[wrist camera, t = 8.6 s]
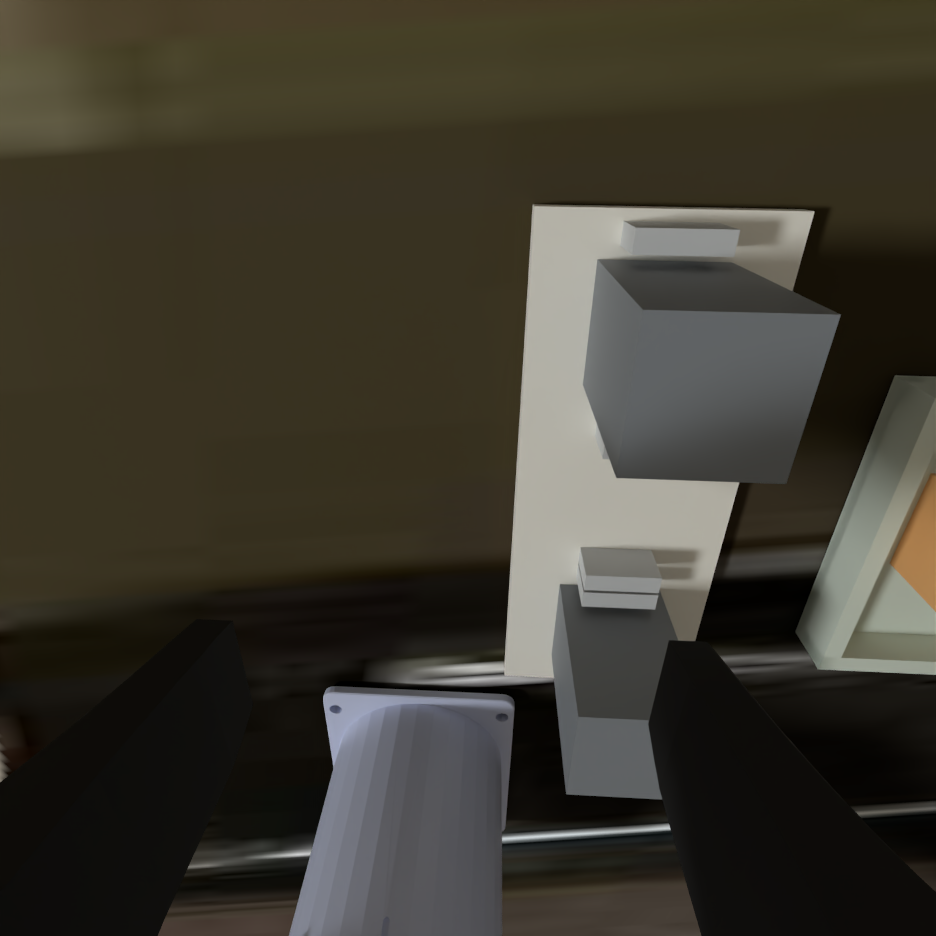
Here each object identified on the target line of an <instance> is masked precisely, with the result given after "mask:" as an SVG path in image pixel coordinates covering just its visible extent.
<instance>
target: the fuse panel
mask: <svg viewBox="0 0 936 936" xmlns="http://www.w3.org/2000/svg"><path fill="white" fill-rule="evenodd" d="M814 212H815V211H810V210H805V209H760V208H707V207H653V206H599V205H545V204H533V210H532V226H531V242H530V258H529V274H528V291H527V307H526V323H525V339H524V355H523V372H522V388H521V404H520V420H519V436H518V453H517V469H516V485H515V501H514V517H513V534H512V550H511V566H510V582H509V598H508V615H507V631H506V647H505V663H504V667H505V676H524V677H546V678H554V683H555V693H556V702H557V712H558V721H559V731H560V741H561V750H562V760H563V769H564V779H565V788H566V794H568V795H587V796H605V797H624V798H643V799H662V796H661V793H660V789H659V784H658V778H657V773H656V767H655V762H654V756H653V750H652V744H651V738H650V732H649V726H648V723H649V719H650V715H651V711H652V707H653V703H654V699H655V694H656V690H657V686H658V682H659V678H660V674H661V670H662V666H663V662H664V658H665V654H666V650H667V646H668V642H669V640H678V641H695V640H696V636H697V633H698V629H699V625H700V622H701V618H702V615H703V611H704V607H705V604H706V600H707V597H708V593H709V590H710V586H711V582H712V579H713V575H714V572H715V568H716V564H717V561H718V557H719V554H720V550H721V546H722V543H723V539H724V536H725V532H726V528H727V525H728V521H729V518H730V514H731V510H732V507H733V503H734V500H735V496H736V492H737V489H738V485H739V482H744V483H773V484H786V483H787V480H788V477H789V474H790V470H791V467H792V464H793V461H794V458H795V455H796V452H797V449H798V446H799V443H800V440H801V436H802V433H803V430H804V427H805V424H806V421H807V418H808V415H809V412H810V409H811V406H812V403H813V399H814V396H815V393H816V390H817V387H818V384H819V381H820V378H821V375H822V372H823V369H824V365H825V362H826V359H827V356H828V353H829V350H830V347H831V344H832V341H833V338H834V335H835V332H836V328H837V325H838V322H839V319H840V316H841V314H838V313H836V312H834V311H832V310H830V309H828V308H826V307H824V306H822V305H820V304H818V303H816V302H814V301H811V300H809V299H807V298H805V297H803V296H801V295H799V294H797V293H795V292H793V287H794V284H795V280H796V277H797V273H798V270H799V266H800V262H801V259H802V255H803V252H804V248H805V244H806V241H807V237H808V234H809V230H810V226H811V223H812V219H813V216H814Z"/></svg>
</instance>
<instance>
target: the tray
mask: <svg viewBox="0 0 936 936" xmlns="http://www.w3.org/2000/svg"><path fill="white" fill-rule="evenodd" d="M931 473H936V377H934V376H899V375H895V376H894V379H893V381H892V384H891V387H890V389H889V392H888V394H887V397H886V399H885V402H884V405H883V407H882V410H881V412H880V415H879V417H878V420H877V423H876V425H875V428H874V430H873V433H872V435H871V438H870V441H869V443H868V446H867V448H866V451H865V453H864V456H863V459H862V461H861V464H860V466H859V469H858V471H857V474H856V477H855V479H854V482H853V484H852V487H851V489H850V492H849V495H848V497H847V500H846V502H845V505H844V508H843V510H842V513H841V515H840V518H839V520H838V523H837V526H836V528H835V531H834V533H833V536H832V538H831V541H830V544H829V546H828V549H827V551H826V554H825V556H824V559H823V562H822V564H821V567H820V569H819V572H818V574H817V577H816V580H815V582H814V585H813V587H812V590H811V592H810V595H809V598H808V600H807V603H806V605H805V608H804V610H803V613H802V616H801V618H800V621H799V623H798V626H797V629H796V631H795V632H796V634H797V636H798V637H799V639H800V641H801V642H802V644H803V645H804V647H805V649H806V650H807V652H808V654H809V655H810V657H811V658H812V660H813V662H814V663H815V665H816V667H817V668H818V669H823V670H845V671H867V672H889V673H911V674H933V675H936V612H935V611H934V610H933V609H932V608H931V606H930V605H929V604H928V603H927V602H926V601H925V600H924V599H923V598H922V597H921V596H920V595H919V594H918V593H917V592H916V591H915V590H914V588H913V587H912V586H911V585H910V584H909V583H908V582H907V581H906V580H905V579H904V578H903V577H902V576H901V575H900V574H899V573H898V572H897V571H896V569H895V568H894V567H893V566H892V565H891V564H890V561H891V559H892V557H893V555H894V552H895V550H896V548H897V546H898V544H899V542H900V539H901V537H902V535H903V533H904V531H905V529H906V526H907V524H908V522H909V520H910V518H911V516H912V513H913V511H914V509H915V507H916V505H917V502H918V500H919V498H920V496H921V494H922V492H923V489H924V487H925V485H926V483H927V481H928V479H929V476H930V474H931Z"/></svg>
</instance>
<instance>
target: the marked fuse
mask: <svg viewBox="0 0 936 936" xmlns="http://www.w3.org/2000/svg"><path fill="white" fill-rule="evenodd" d="M890 564H891V565H892V566H893V567H894V568H895V569H896V571H897V572H898V573H899V574H900V575H901V576H902V577H903V578H904V579H905V580H906V581H907V582H908V583H909V584H910V585H911V586H912V587H913V588H914V590H915V591H916V592H917V593H918V594H919V595H920V596H921V597H922V598H923V599H924V600H925V601H926V602H927V603H928V604H929V605H930V606H931V608H932V609H933V610H934V611H935V612H936V473H931V474H930V476H929V479H928V481H927V483H926V485H925V487H924V489H923V492H922V494H921V496H920V498H919V500H918V502H917V505H916V507H915V509H914V511H913V513H912V516H911V518H910V520H909V522H908V524H907V526H906V529H905V531H904V533H903V535H902V537H901V539H900V542H899V544H898V546H897V548H896V550H895V552H894V555H893V557H892V559H891V561H890Z"/></svg>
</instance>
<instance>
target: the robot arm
mask: <svg viewBox="0 0 936 936" xmlns="http://www.w3.org/2000/svg"><path fill="white" fill-rule="evenodd" d="M323 703H324V709H325V716H326V722H327V728H328V735H329V741H330V747H331V754H332V760H333V766H334V769H333V773H332V776H331V780H330V784H329V788H328V791H327V795H326V799H325V803H324V806H323V810H322V814H321V818H320V821H319V825H318V829H317V833H316V836H315V840H314V844H313V848H312V851H311V855H310V859H309V863H308V866H307V870H306V874H305V878H304V881H303V885H302V889H301V893H300V896H299V900H298V904H297V908H296V911H295V915H294V919H293V922H292V926H291V930H290V934H289V936H502V831H503V830H504V829H505V826H506V813H507V800H508V787H509V774H510V761H511V749H512V736H513V723H514V710H515V707H514V700H513V698H512V697H510V696H508V695H505V694H490V693H469V692H448V691H427V690H406V689H385V688H364V687H343V686H332V687H329V688H327V689H326V691H325V693H324V697H323ZM252 706H253V703H252V699H251V695H250V691H249V687H248V682H247V678H246V674H245V670H244V666H243V662H242V658H241V654H240V650H239V646H238V642H237V638H236V634H235V629H234V625H233V621H223V620H201V619H196V620H195V621H194V622H193V623H192V624H190V625H189V626H188V627H187V628H186V629H184V630H183V631H182V632H181V633H180V634H179V635H177V636H176V637H175V638H174V639H173V640H172V641H171V642H169V643H168V644H167V645H166V646H165V647H164V648H163V649H161V650H160V651H159V652H158V653H157V654H156V655H154V656H153V657H152V658H151V659H150V660H149V661H148V662H146V663H145V664H144V665H143V666H142V667H141V668H139V669H138V670H137V671H136V672H135V673H134V674H133V675H131V676H130V677H129V678H128V679H127V680H126V681H124V682H123V683H122V684H121V685H120V686H119V687H117V688H116V689H115V690H114V691H113V692H112V693H110V694H109V695H108V696H107V697H106V698H105V699H103V700H102V701H101V702H100V703H99V704H97V705H96V706H95V707H94V708H93V709H91V710H90V711H89V712H88V713H87V714H86V715H84V716H83V717H82V718H81V719H80V720H78V721H77V722H76V723H75V724H74V725H72V726H71V727H70V728H69V729H67V730H66V731H65V732H64V733H62V734H61V735H60V736H59V737H57V738H56V739H55V740H54V741H52V742H51V743H50V744H48V745H47V746H46V747H45V748H43V749H42V750H41V751H40V752H38V753H37V754H36V755H35V756H33V757H32V758H31V759H29V760H28V761H27V762H26V763H24V764H23V765H22V766H21V767H19V768H18V769H17V770H16V771H14V772H13V773H12V774H10V775H9V776H8V777H7V778H5V779H4V780H3V781H2V782H0V936H158V933H159V931H160V929H161V926H162V924H163V921H164V919H165V917H166V914H167V912H168V910H169V908H170V906H171V903H172V901H173V899H174V897H175V895H176V892H177V890H178V888H179V886H180V884H181V881H182V879H183V877H184V875H185V873H186V870H187V868H188V866H189V864H190V862H191V859H192V857H193V855H194V853H195V851H196V848H197V846H198V844H199V842H200V840H201V837H202V835H203V833H204V831H205V829H206V826H207V824H208V822H209V820H210V818H211V815H212V813H213V811H214V809H215V806H216V804H217V802H218V800H219V797H220V795H221V793H222V791H223V788H224V786H225V784H226V782H227V779H228V777H229V775H230V772H231V770H232V768H233V765H234V762H235V759H236V756H237V753H238V750H239V747H240V744H241V741H242V738H243V735H244V732H245V729H246V725H247V722H248V719H249V716H250V712H251V709H252ZM501 713H503V714H501ZM648 726H649V732H650V738H651V744H652V750H653V756H654V762H655V767H656V773H657V778H658V784H659V789H660V793H661V796H662V800H663V803H664V807H665V811H666V814H667V818H668V821H669V825H670V828H671V832H672V835H673V839H674V842H675V846H676V849H677V853H678V856H679V859H680V863H681V866H682V870H683V873H684V877H685V880H686V883H687V887H688V890H689V894H690V897H691V901H692V904H693V908H694V911H695V914H696V918H697V921H698V925H699V928H700V932H701V935H702V936H936V892H935V891H934V890H933V889H932V888H931V887H930V886H929V885H927V884H926V883H925V882H924V881H923V880H922V879H921V878H920V877H919V876H918V875H917V874H916V873H915V872H914V871H913V870H912V869H911V868H910V867H909V866H908V865H907V864H906V863H905V862H904V861H903V860H902V859H901V858H900V857H899V856H898V855H897V854H896V853H895V852H894V851H893V850H892V849H891V848H890V847H889V846H888V845H887V844H886V843H885V842H884V841H883V840H882V839H881V838H880V837H879V836H878V835H877V834H876V833H875V832H874V831H873V830H872V829H871V828H870V827H869V826H868V825H867V824H866V823H865V822H864V821H863V820H862V819H861V817H860V816H859V815H858V814H857V813H856V812H855V811H854V810H853V809H852V808H851V807H850V806H849V805H848V804H847V803H846V802H845V801H844V800H843V799H842V797H841V796H840V795H839V794H838V793H837V792H836V791H835V790H834V789H833V788H832V787H831V786H830V784H829V783H828V782H827V781H826V780H825V779H824V778H823V777H822V776H821V775H820V773H819V772H818V771H817V770H816V769H815V768H814V767H813V766H812V764H811V763H810V762H809V761H808V760H807V759H806V758H805V757H804V755H803V754H802V753H801V752H800V751H799V750H798V749H797V748H796V746H795V745H794V744H793V743H792V742H791V741H790V740H789V739H788V737H787V736H786V735H785V734H784V733H783V732H782V730H781V729H780V728H779V727H778V726H777V725H776V723H775V722H774V721H773V720H772V719H771V718H770V716H769V715H768V714H767V713H766V712H765V710H764V709H763V708H762V707H761V706H760V705H759V703H758V702H757V701H756V700H755V699H754V697H753V696H752V695H751V694H750V693H749V691H748V690H747V689H746V688H745V687H744V685H743V684H742V683H741V682H740V680H739V679H738V678H737V677H736V676H735V674H734V673H733V672H732V671H731V670H730V668H729V667H728V666H727V665H726V663H725V662H724V661H723V660H722V659H721V657H720V656H719V655H718V654H717V653H716V651H715V650H714V649H713V648H712V647H711V646H710V644H709V643H708V642H701V641H678V640H669V642H668V646H667V650H666V654H665V658H664V662H663V666H662V670H661V674H660V678H659V682H658V686H657V690H656V694H655V699H654V703H653V707H652V711H651V715H650V719H649V723H648Z"/></svg>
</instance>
